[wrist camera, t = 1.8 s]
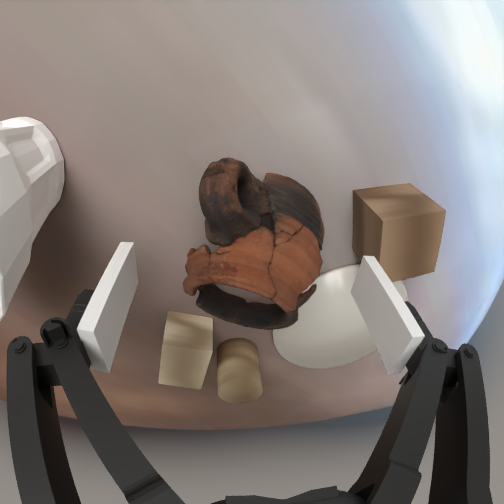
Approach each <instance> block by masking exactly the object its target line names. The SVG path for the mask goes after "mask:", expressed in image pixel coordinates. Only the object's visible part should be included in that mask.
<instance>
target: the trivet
mask: <svg viewBox="0 0 504 504" xmlns="http://www.w3.org/2000/svg"><path fill="white" fill-rule="evenodd" d="M359 267H360V264H354V265H348V266H343V267H339V268H336V269H333V270H330V271H327V272H325V273H323V274H321V275H319V277H318V278H317V279H316V280H315V281H314V283H313V284H316V285H317V289H316V291H315V292H314V294H313V295H312V296H311V297H310V299H309V300H308V301H307V302H306V303H304V304H303V305H302V306H301V307H300V308H298V321H297V322H295V323H294V324H293V325H291V326H289V327H287V328H282V329H273V341H274V344H275V347H276V349H277V351H278V352H279V354H280V355H281V356H282V357H283V358H284V359H285V360H287V361H289V362H290V363H292V364H295V365H297V366H300V367H304V368H311V369H326V368H334V367H339V366H343V365H346V364H349V363H352V362H355V361H357V360H359V359H361V358H363V357H365V356H367V355H369V354H370V353H372V352H373V351H375V350H376V349H377V348H376V345H375V343H374V341H373V339H372V336H371V334H370V332H369V330H368V328H367V326H366V323H365V321H364V319H363V317H362V315H361V313H360V311H359V308H358V306H357V304H356V302H355V300H354V298H353V296H352V294H351V289H352V286H353V284H354V281H355V278H356V275H357V272H358V270H359ZM392 283H393V285H394V287H395V288H396V290H397V291H398V293H399V294H400V296H401V297H402V299H403V301H408V296H407V291H406V288H405V286H404V284H403V283H402V281H401V280H400V281H396V282H392ZM313 284H312V285H313ZM312 285H310V286H309V287H308V288H307V289H306V290H305V291H303V292H306V291H307V290H309V288H310V287H311V286H312ZM303 292H302V293H303Z"/></svg>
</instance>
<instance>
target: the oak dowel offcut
mask: <svg viewBox="0 0 504 504" xmlns="http://www.w3.org/2000/svg"><path fill="white" fill-rule="evenodd" d="M217 382H218V396H219V398H220V399H222V400H224V401H226V402H229V403H236V404H241V403H248V402H252V401H254V400H256V399H258V398H259V397H260V396H261V395H262V393H263V389H262V381H261V373H260V366H259V358H258V350H257V346H256V345H255V344H254V343H253V342H252V341H250V340H247V339H243V338H234V339H229V340H226V341H224V342H223V343H221V344H220V345H219V347H218V349H217Z"/></svg>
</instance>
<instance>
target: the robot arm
mask: <svg viewBox="0 0 504 504" xmlns="http://www.w3.org/2000/svg"><path fill="white" fill-rule="evenodd" d="M138 283H139V282H138V275H137V267H136V259H135V250H134V243H132V242H121V243H120V244H119V246H118V248H117V250H116V251H115V253H114V255H113V257H112V259H111V261H110V262H109V264H108V266H107V268H106V270H105V272H104V274H103V276H102V278H101V280H100V281H99V283H98V285H97V287H96V289H95V290H86V289H85V290H84V291H83V292H82V293H81V294H80V295H79V296H78V297H77V299H76V301H75V303H74V305H73V307H72V309H71V311H70V313H69V315H68V317H67V319H66V320H65V319H62V318H57V317H55V318H51V319H49V320H47V321H46V322H45V323H44V324H43V325H42V326H41V329H40V335H41V337H42V339H43V341H44V343H35V344H32V342H31V340H30V339H29V338H28V337H25V336H19V337H17V338H15V339H13V340H12V341H11V342H10V344H9V346H8V350H7V411H8V425H9V435H10V443H11V451H12V458H13V464H14V469H15V475H16V480H17V484H18V489H19V493H20V497H21V501H22V504H81V502H80V499H79V496H78V493H77V490H76V487H75V484H74V480H73V477H72V474H71V470H70V467H69V463H68V460H67V456H66V452H65V447H64V443H63V439H62V434H61V429H60V424H59V420H58V413H57V408H56V401H55V394H54V387H53V386H59V385H62V387H63V389H64V391H65V393H66V396H67V398H68V400H69V402H70V404H71V406H72V408H73V410H74V412H75V414H76V416H77V418H78V420H79V422H80V424H81V426H82V428H83V430H84V432H85V433H86V435H87V437H88V439H89V441H90V442H91V444H92V446H93V447H94V449H95V451H96V453H97V454H98V456H99V457H100V459H101V461H102V462H103V464H104V465H105V467H106V469H107V470H108V472H109V473H110V475H111V476H112V478H113V479H114V480H115V482H116V483H117V485H118V486H119V488H120V489H121V490H122V492H123V493H124V495H125V498H126V500H127V501H128V503H129V504H185V503H184V502H183V501H182V500H181V499H180V498H179V496H178V495H177V494H176V493H175V492H174V491H173V490H172V489H171V487H170V486H169V485H168V484H167V483H166V482H165V481H164V479H163V478H162V477H161V476H160V475H159V474H158V473H157V472H156V470H155V469H154V468H153V467H152V465H151V464H150V463H149V461H148V460H147V459H146V458H145V456H144V455H143V454H142V452H141V451H140V450H139V448H138V447H137V445H136V444H135V443H134V441H133V440H132V438H131V437H130V436H129V434H128V433H127V431H126V430H125V428H124V427H123V425H122V424H121V422H120V421H119V419H118V418H117V416H116V414H115V413H114V411H113V410H112V408H111V406H110V405H109V403H108V402H107V400H106V398H105V397H104V395H103V393H102V391H101V390H100V388H99V386H98V384H97V383H96V381H95V379H94V377H93V375H92V374H91V372H90V370H89V368H90V365H92V367H93V369H94V371H98V372H104V373H110V369H111V366H112V362H113V359H114V356H115V352H116V349H117V346H118V342H119V339H120V336H121V333H122V330H123V327H124V323H125V320H126V317H127V314H128V311H129V308H130V306H131V303H132V300H133V297H134V294H135V291H136V288H137V286H138ZM351 294H352V296H353V298H354V300H355V302H356V304H357V306H358V308H359V311H360V313H361V315H362V317H363V319H364V321H365V323H366V326H367V328H368V330H369V332H370V334H371V336H372V339H373V341H374V343H375V345H376V348H377V350H378V352H379V354H380V357H381V359H382V361H383V364H384V366H385V368H386V371H387V373H388V375H389V374H396V373H400V372H401V371H402V370H403V368H404V367H405V365H406V367H407V369H408V372H407V373H406V374H405V376H404V377H403V378H402V380H401V381H400V382H399V384H401V383H402V385H401V388H400V390H399V393H398V396H397V398H396V401H395V403H394V406H393V408H392V411H391V413H390V415H389V418H388V421H387V422H386V425H385V427H384V429H383V431H382V434H381V436H380V438H379V440H378V442H377V444H376V446H375V448H374V451H373V452H372V454H371V456H370V458H369V461H368V462H367V464H366V466H365V468H364V470H363V472H362V474H361V475H360V477H359V479H358V480H357V482H356V483H355V484H354V485H353V486H352V487H351V488H350V490H349V491H348V492H345V491H339V490H337V486H332V487H327V488H321V489H315V490H310V491H307V492H305V493H302V494H300V495H297V496H294V497H291V498H288V499H283V500H282V499H274V498H267V497H261V496H255V495H253V496H226V498H225V500H221V501H217V502H214V503H212V504H411V501H412V500H413V498H414V495H415V493H416V490H417V488H418V486H419V483H420V480H421V473H420V472H418V469H419V466H420V463H421V460H422V457H423V455H424V452H425V449H426V446H427V443H428V439H429V436H430V433H431V430H432V426H433V423H434V419H435V415H436V432H435V449H434V461H433V471H432V480H431V487H430V494H429V502H428V504H493V502H492V497H491V493H490V488H489V482H490V450H489V449H490V448H489V430H488V429H489V428H488V416H487V407H486V398H485V390H484V384H483V377H482V372H481V366H480V361H479V357H478V353H477V351H476V349H475V348H474V347H473V346H471V345H469V344H462V345H461V346H460V348H459V349H458V350H454V349H449V348H448V347H447V345H446V344H445V343H444V342H443V341H441V340H440V339H437V338H433V336H432V335H431V333H430V331H429V330H428V328H427V326H426V325H425V323H424V322H423V321H422V318H421V317H420V315H419V314H418V312H417V310H416V309H415V307H414V306H412V305H411V304H410V303H409V302H408V301H403V299H402V297H401V296H400V294H399V293H398V291H397V290H396V288H395V287H394V285H393V283H392V282H391V280H390V279H389V277H388V276H387V274H386V273H385V271H384V270H383V268H382V267H381V266H380V264H379V263H378V261H377V260H376V258H375V257H374V256H363V258H362V261H361V264H360V267H359V270H358V272H357V275H356V278H355V281H354V284H353V286H352V289H351Z"/></svg>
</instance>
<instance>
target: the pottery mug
mask: <svg viewBox="0 0 504 504" xmlns="http://www.w3.org/2000/svg"><path fill="white" fill-rule="evenodd" d="M199 200H200V205H201V209H202V212H203V214H204V216H205V218H206V219H205V230H206V237H207V239H208V240H209V242H211V243H212V244H214V245H220V247H219V248H218V249H217V250H216V251H215V252H213V253H211V251H210V249H209V247H208V246H207V245H203V246H201V247H200V248H199V249H197V250H196V249H194V248H191V249H190V251H189V253H188V254H187V257H188V260H187V263H186V265H185V268H186V272H187V274H188V276H187V278H185V280H184V282H183V289H184V292H185V293H186V294H189V295H191V296H194V295H195V294H196V291H197V289H198V290H199V291H200V294H199V297H198V299H197V301H196V305H197V306H198V307H199V308H201V309H202V310H204V311H205V312H207V313H209V314H211V315H213V316H215V317H218V318H220V319H222V320H225V321H228V322H231V323H235V324H238V325H242V326H245V327H252V328H257V329H267V330H271V329H272V330H273V329H282V328H287V327H289V326H291V325H293V324H294V323H295V322H297V321H298V308H300V307H301V306H302V305H303V304H304V303H306V302H307V301H308V300H309V299H310V297H311V296H312V295H313V294H314V292H315V291H316V289H317V285H316V284H313V283H314V281H315V280H316V279H317V278H318V277H319V275H320V269H321V265H322V259H321V256H320V250H322V243H323V237H324V226H323V222H322V219H321V215H320V209H319V206H318V204H317V202H316V200H315V198H314V196H313V195H312V194H311V193H310V192H309V191H308V190H307V189H306V188H305V187H304V186H302V185H301V184H299V183H298V182H297V181H295V180H293V179H291V178H289V177H285V176H281V175H278V174H273V173H267V174H266V175H265V179H264V181H263V183H262V182H261V181H260V180H259V179H257V178H255V177H254V175H252V173H251V172H250V170H249V168H248V167H247V166H246V164H245V163H244V162H241V161H238V160H235V159H233V158H223V159H221V160H219V161H217V162H212V163H210V164H209V166H208V168H207V169H206V171H205V172H204V174H203V176H202V178H201V182H200V186H199ZM267 214H269V215H270V216H271V222H272V230H270V229H268V228H267V227H265V226H260V223H261V219H260V217H262V216H264V215H267ZM213 283H217V284H222V285H229V286H233V287H237V288H241V289H245V290H248V291H251V292H254V293H257V294H259V295H261V296H263V297H266V298H268V299H271V300H272V301H273V302H274V303H275V304H263V303H258V302H250V303H247V302H246V301H245V299H243V298H240V297H238V296H234V295H231V294H228V293H226V292H224V291H222V290H220V289H219V288H218V287H217V286H216V285H215V284H213ZM312 284H313V285H312ZM310 285H312V286H311V287H310V288H309V290H307V291H306V292H303V291H305V290H306V289H307V288H308V287H309V286H310ZM302 292H303V293H302Z"/></svg>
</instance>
